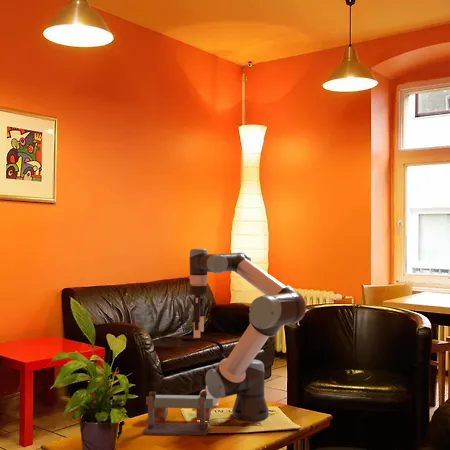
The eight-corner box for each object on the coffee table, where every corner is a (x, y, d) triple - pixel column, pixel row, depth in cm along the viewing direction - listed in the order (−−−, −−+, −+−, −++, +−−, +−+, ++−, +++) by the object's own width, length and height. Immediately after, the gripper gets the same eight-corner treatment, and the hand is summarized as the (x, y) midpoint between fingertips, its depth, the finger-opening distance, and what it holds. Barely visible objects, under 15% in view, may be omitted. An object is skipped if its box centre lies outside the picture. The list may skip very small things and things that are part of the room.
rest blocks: (210, 415, 241) (210, 403, 241) (208, 422, 233) (208, 410, 233) (156, 414, 243) (156, 402, 243) (152, 421, 235) (152, 409, 235)
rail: (213, 405, 239) (213, 395, 239) (212, 408, 235) (212, 398, 235) (151, 404, 241) (151, 394, 241) (149, 407, 237) (149, 397, 237)
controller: (117, 430, 225) (117, 404, 225) (125, 441, 214) (125, 414, 214) (106, 432, 223) (106, 406, 223) (114, 443, 212) (114, 415, 212)
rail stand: (208, 427, 227) (208, 392, 227) (206, 435, 219) (206, 398, 219) (148, 426, 229) (147, 391, 229) (143, 434, 221) (143, 397, 221)
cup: (223, 406, 254) (223, 388, 254) (201, 408, 250) (201, 390, 250) (218, 401, 260) (218, 383, 260) (197, 404, 257) (197, 385, 257)
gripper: (193, 281, 260) (193, 328, 260) (185, 288, 235) (186, 340, 235) (210, 281, 260) (210, 329, 260) (204, 288, 235) (204, 340, 235)
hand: (198, 334), depth 247 cm, fingers open, 13 cm apart
